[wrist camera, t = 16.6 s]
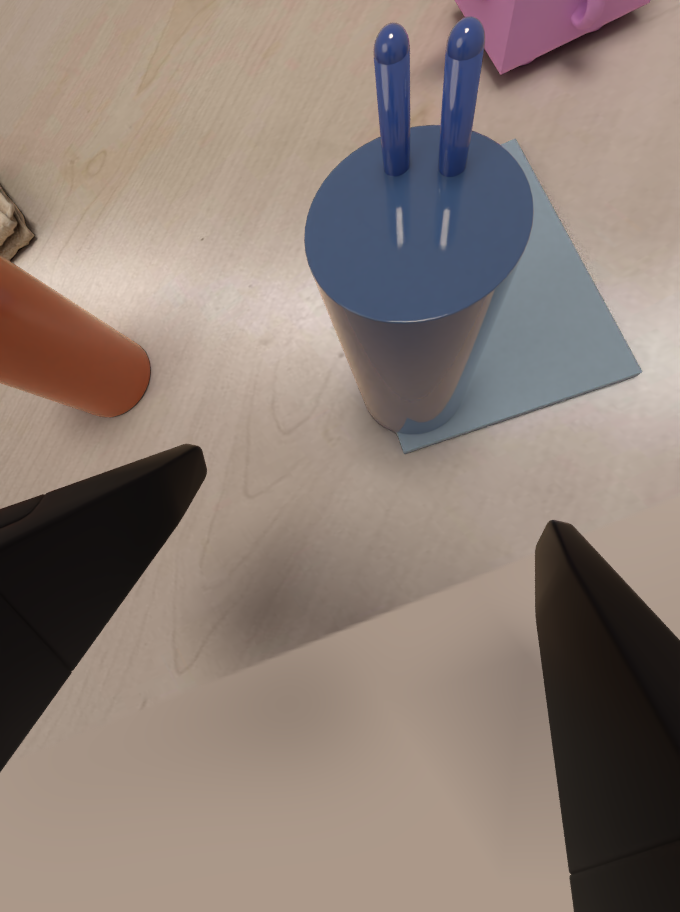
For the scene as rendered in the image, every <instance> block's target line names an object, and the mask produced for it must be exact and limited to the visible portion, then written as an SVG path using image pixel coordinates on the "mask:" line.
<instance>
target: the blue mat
mask: <svg viewBox="0 0 680 912" xmlns="http://www.w3.org/2000/svg"><path fill="white" fill-rule="evenodd" d="M501 146H502V147H503V148H505V149H506V150H507V151H508V152H509V153H510V154H511V155H512V156H513V157H514V158H515V159H516V161H517V162H518V163H519V165H520V166H521V168H522V170H523V171H524V173H525V175H526V177H527V180H528V182H529V184H530V189H531V193H532V197H533V208H534V214H533V225H532V230H531V234H530V238H529V241H528V243H527V246H526V248H525V250H524V253H523V255H522V258H521V260H520V263H519V265H518V267H517V270H516V272H515V275H514V277H513V280H512V282H511V285H510V287H509V289H508V292H507V294H506V297H505V299H504V302H503V304H502V306H501V309H500V311H499V314H498V316H497V319H496V321H495V324H494V326H493V328H492V331H491V333H490V336H489V338H488V341H487V343H486V345H485V348H484V350H483V353H482V355H481V358H480V360H479V363H478V365H477V367H476V370H475V372H474V375H473V377H472V380H471V382H470V384H469V387H468V389H467V392H466V394H465V397H464V399H463V401H462V404H461V406H460V408H459V409H458V411H457V412H456V414H455V415H454V416H453V417H452V418H451V419H450V420H449V421H448V422H447V423H445V424H444V425H443V426H441V427H439V428H437V429H435V430H433V431H430V432H427V433H423V434H410V435H409V434H401V433H397V432H396V433H397V435H398V438H399V441H400V444H401V447H402V450H403V452H404V454H406V453H409V452H412V451H415V450H418V449H421V448H424V447H427V446H430V445H433V444H436V443H439V442H442V441H445V440H448V439H451V438H454V437H457V436H460V435H463V434H466V433H469V432H472V431H475V430H478V429H481V428H484V427H487V426H490V425H493V424H495V423H498V422H501V421H504V420H507V419H510V418H513V417H516V416H519V415H522V414H525V413H528V412H531V411H534V410H537V409H540V408H543V407H546V406H549V405H552V404H555V403H558V402H561V401H564V400H567V399H570V398H573V397H576V396H579V395H582V394H585V393H588V392H591V391H594V390H597V389H600V388H603V387H605V386H608V385H611V384H614V383H617V382H620V381H623V380H626V379H629V378H632V377H635V376H637V375H639V374H640V373H642V370H641V368H640V366H639V365H638V363H637V361H636V359H635V357H634V355H633V354H632V352H631V350H630V348H629V346H628V344H627V343H626V341H625V339H624V337H623V335H622V333H621V331H620V330H619V328H618V326H617V324H616V322H615V320H614V319H613V317H612V315H611V313H610V311H609V309H608V308H607V306H606V304H605V302H604V300H603V298H602V297H601V295H600V293H599V291H598V289H597V287H596V286H595V284H594V282H593V280H592V278H591V276H590V275H589V273H588V271H587V269H586V267H585V265H584V263H583V262H582V260H581V258H580V256H579V254H578V252H577V251H576V249H575V247H574V245H573V243H572V241H571V240H570V238H569V236H568V234H567V232H566V230H565V229H564V227H563V225H562V223H561V221H560V219H559V218H558V216H557V214H556V212H555V210H554V208H553V207H552V205H551V203H550V201H549V199H548V197H547V196H546V194H545V192H544V190H543V188H542V186H541V184H540V183H539V181H538V179H537V177H536V175H535V173H534V172H533V170H532V168H531V166H530V164H529V162H528V161H527V159H526V157H525V155H524V153H523V151H522V150H521V148H520V146H519V144H518V142H517V140H516V139H513V140H510V141H508V142H506V143H504V144H501Z"/></svg>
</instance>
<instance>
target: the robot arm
mask: <svg viewBox="0 0 680 912" xmlns="http://www.w3.org/2000/svg"><path fill="white" fill-rule="evenodd" d="M206 474H207V468H206V464H205V460H204V456H203V452H202V449H201V448H200V447H199V446H196V445H191V444H183V445H180V446H178V447H175V448H172V449H169V450H166V451H163V452H161V453H158V454H155V455H152V456H149V457H147V458H144V459H141V460H138V461H135V462H133V463H130V464H127V465H124V466H121V467H118V468H116V469H113V470H110V471H107V472H104V473H102V474H99V475H96V476H93V477H90V478H88V479H85V480H82V481H79V482H76V483H73V484H71V485H68V486H65V487H62V488H59V489H57V490H54V491H51V492H48V493H46V494H45V495H44V494H42V495H39V496H37V497H34V498H31V499H28V500H25V501H22V502H20V503H17V504H14V505H11V506H8V507H5V508H2V509H0V772H1V770H2V769H3V768H4V766H5V765H6V764H7V762H8V761H9V759H10V758H11V757H12V755H13V754H14V752H15V751H16V750H17V748H18V747H19V745H20V744H21V743H22V741H23V740H24V738H25V737H26V736H27V734H28V733H29V731H30V730H31V729H32V727H33V726H34V725H35V723H36V722H37V720H38V719H39V718H40V716H41V715H42V713H43V712H44V711H45V709H46V708H47V706H48V705H49V704H50V702H51V701H52V699H53V698H54V697H55V695H56V694H57V692H58V691H59V690H60V688H61V687H62V686H63V684H64V683H65V681H66V680H67V679H68V677H69V676H70V674H71V673H72V672H71V671H73V670H74V668H75V667H76V666H77V664H78V663H79V662H80V660H81V659H82V657H83V656H84V655H85V653H86V652H87V650H88V649H89V648H90V646H91V645H92V643H93V642H94V641H95V639H96V638H97V637H98V635H99V634H100V632H101V631H102V630H103V628H104V627H105V625H106V624H107V623H108V621H109V620H110V618H111V617H112V616H113V614H114V613H115V611H116V610H117V609H118V607H119V606H120V605H121V603H122V602H123V600H124V599H125V598H126V596H127V595H128V593H129V592H130V591H131V589H132V588H133V586H134V585H135V584H136V582H137V581H138V579H139V578H140V577H141V575H142V574H143V573H144V571H145V570H146V568H147V567H148V566H149V564H150V563H151V561H152V560H153V559H154V557H155V556H156V554H157V553H158V552H159V550H160V549H161V547H162V546H163V545H164V543H165V542H166V541H167V539H168V538H169V536H170V535H171V534H172V532H173V531H174V529H175V528H176V527H177V525H178V524H179V522H180V521H181V519H182V517H183V516H184V514H185V512H186V511H187V509H188V507H189V505H190V504H191V502H192V500H193V498H194V497H195V495H196V493H197V491H198V490H199V488H200V486H201V484H202V483H203V481H204V479H205V477H206ZM535 612H536V624H537V632H538V640H539V647H540V655H541V662H542V670H543V678H544V685H545V693H546V700H547V708H548V716H549V723H550V730H551V738H552V746H553V753H554V760H555V768H556V776H557V784H558V791H559V798H560V807H561V814H562V822H563V829H564V837H565V845H566V852H567V860H568V867H569V872H570V874H571V875H570V884H571V892H572V900H573V907H574V912H680V640H679V639H678V638H677V637H676V636H675V635H674V634H673V633H672V631H671V630H670V629H669V628H668V627H667V626H666V625H665V624H664V623H663V622H662V621H661V620H660V619H659V617H657V615H656V614H655V613H654V612H653V611H652V610H651V609H650V608H649V607H648V606H647V605H646V604H645V602H644V601H643V600H642V599H641V598H640V597H639V596H638V595H637V594H636V593H635V592H634V591H633V590H632V589H631V587H630V586H629V585H628V584H627V583H626V582H625V581H624V580H623V579H622V578H621V577H620V576H619V575H618V573H617V572H616V571H615V570H614V569H613V568H612V567H611V566H610V565H609V564H608V563H607V562H606V561H605V560H604V558H603V557H601V555H600V554H599V553H598V552H597V551H596V550H595V549H594V548H593V547H592V546H591V545H590V544H589V542H588V541H587V540H586V539H585V538H584V537H583V536H582V535H581V534H580V533H579V532H578V531H577V529H576V528H575V527H574V526H573V525H571V524H569V523H566V522H561V521H556V520H551V521H549V522H548V523H547V525H546V527H545V529H544V531H543V533H542V535H541V537H540V539H539V541H538V543H537V545H536V550H535Z"/></svg>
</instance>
